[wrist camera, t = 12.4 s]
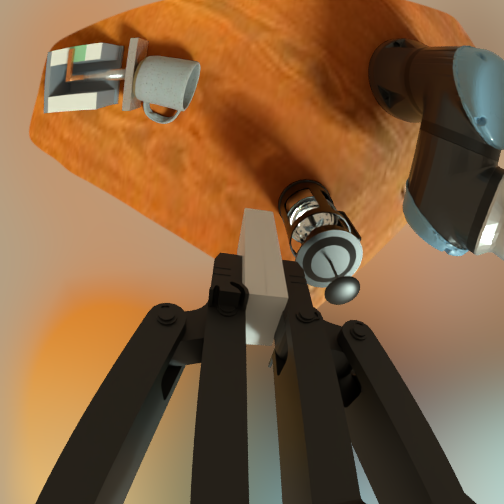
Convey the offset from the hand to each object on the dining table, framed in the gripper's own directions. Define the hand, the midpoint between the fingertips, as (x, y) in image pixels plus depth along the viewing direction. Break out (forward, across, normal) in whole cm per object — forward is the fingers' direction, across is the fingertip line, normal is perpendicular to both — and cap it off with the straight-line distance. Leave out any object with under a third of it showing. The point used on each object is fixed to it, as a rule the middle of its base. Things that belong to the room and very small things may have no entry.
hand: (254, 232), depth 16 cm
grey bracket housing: (+31, +27, -8) cm, 42 cm away
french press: (+32, -12, +11) cm, 36 cm away
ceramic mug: (+32, +13, -5) cm, 35 cm away
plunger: (+30, +24, -8) cm, 39 cm away
